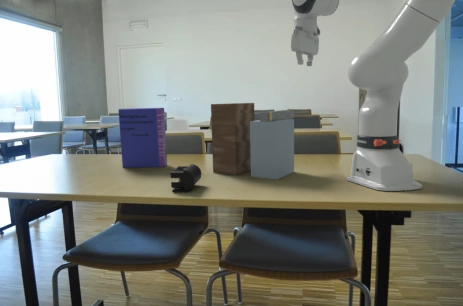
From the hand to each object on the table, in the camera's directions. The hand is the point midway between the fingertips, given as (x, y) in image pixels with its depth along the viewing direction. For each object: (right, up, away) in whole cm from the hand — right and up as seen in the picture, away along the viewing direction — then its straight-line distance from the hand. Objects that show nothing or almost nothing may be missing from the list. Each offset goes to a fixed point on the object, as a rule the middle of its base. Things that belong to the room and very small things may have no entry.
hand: (305, 65), depth 141 cm
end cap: (-43, -46, -32) cm, 70 cm away
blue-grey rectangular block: (-14, -42, -14) cm, 47 cm away
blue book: (-65, -40, +8) cm, 77 cm away
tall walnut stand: (-28, -41, -6) cm, 50 cm away
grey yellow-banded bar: (-12, -23, -13) cm, 29 cm away
